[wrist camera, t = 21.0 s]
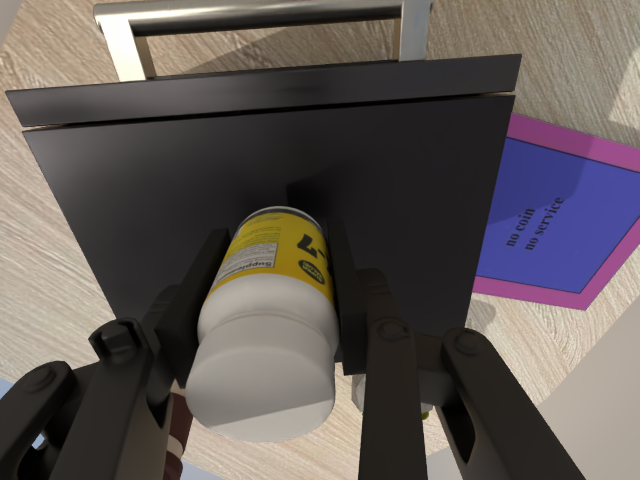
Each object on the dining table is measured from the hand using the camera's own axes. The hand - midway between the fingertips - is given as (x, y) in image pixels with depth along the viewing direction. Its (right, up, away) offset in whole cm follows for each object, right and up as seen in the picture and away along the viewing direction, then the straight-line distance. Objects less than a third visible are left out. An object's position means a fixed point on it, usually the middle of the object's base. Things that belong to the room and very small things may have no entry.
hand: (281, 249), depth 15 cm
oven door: (-1, +18, +14) cm, 22 cm away
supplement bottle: (0, 0, 0) cm, 1 cm away
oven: (-1, +7, +20) cm, 21 cm away
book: (+27, +4, +24) cm, 36 cm away
